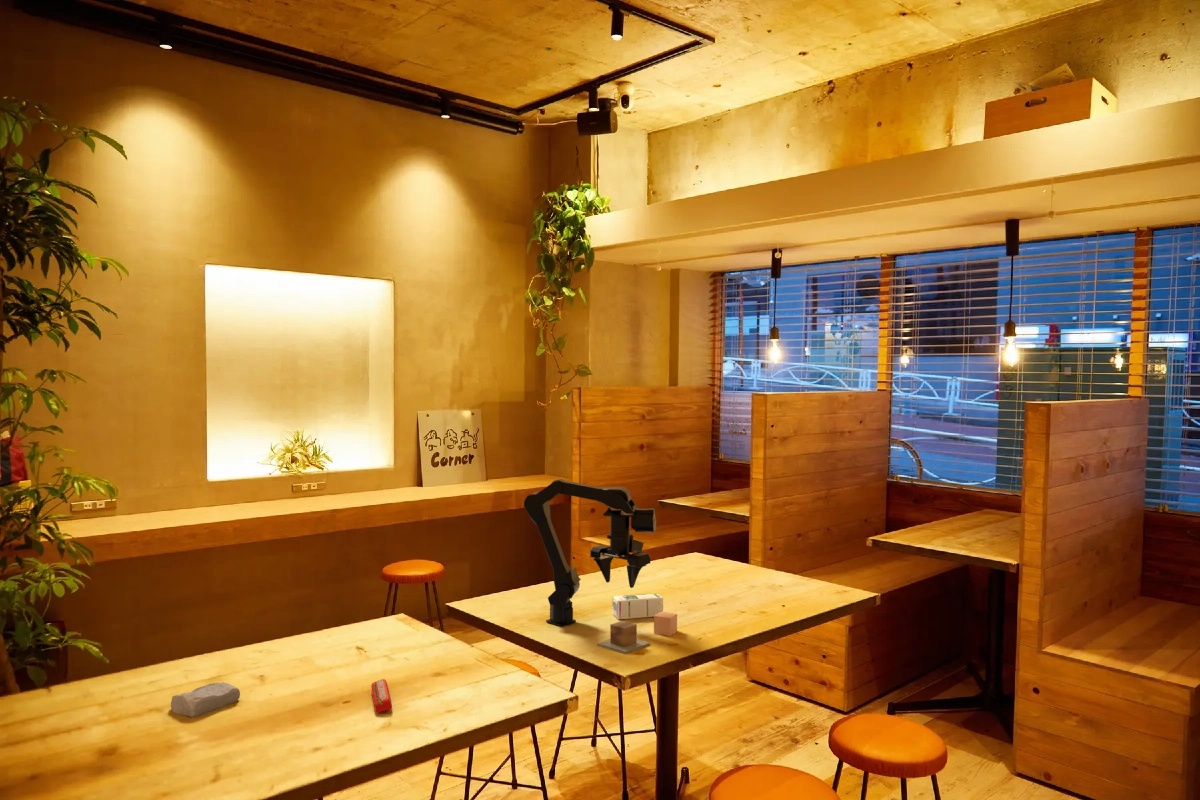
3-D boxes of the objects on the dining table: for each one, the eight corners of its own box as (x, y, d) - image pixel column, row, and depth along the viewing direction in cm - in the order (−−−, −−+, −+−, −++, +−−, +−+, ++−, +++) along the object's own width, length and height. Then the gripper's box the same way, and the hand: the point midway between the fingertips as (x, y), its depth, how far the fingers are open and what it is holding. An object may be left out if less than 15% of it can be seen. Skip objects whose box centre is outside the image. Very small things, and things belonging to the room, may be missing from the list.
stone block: (166, 718, 176) (193, 719, 171) (163, 696, 176) (191, 696, 171) (216, 702, 186) (243, 702, 181) (214, 680, 187) (241, 680, 182)
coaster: (597, 645, 219) (597, 643, 219) (621, 636, 227) (621, 634, 227) (625, 654, 213) (625, 651, 213) (649, 644, 220) (649, 642, 220)
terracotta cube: (653, 633, 230) (654, 615, 230) (660, 628, 235) (661, 611, 235) (670, 635, 228) (670, 618, 228) (677, 631, 233) (677, 613, 232)
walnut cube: (610, 643, 220) (610, 624, 219) (622, 638, 223) (622, 620, 223) (624, 647, 216) (624, 628, 216) (636, 642, 220) (636, 624, 220)
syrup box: (663, 597, 246) (617, 599, 243) (663, 616, 246) (616, 619, 243) (657, 593, 252) (612, 595, 248) (657, 612, 252) (611, 614, 248)
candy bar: (370, 690, 188) (370, 677, 188) (387, 688, 189) (387, 675, 189) (375, 717, 173) (375, 703, 173) (393, 715, 174) (393, 701, 174)
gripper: (662, 531, 235) (662, 585, 236) (614, 523, 248) (614, 574, 249) (637, 537, 227) (637, 592, 228) (589, 528, 240) (589, 581, 240)
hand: (619, 585), depth 236 cm, fingers open, 9 cm apart
